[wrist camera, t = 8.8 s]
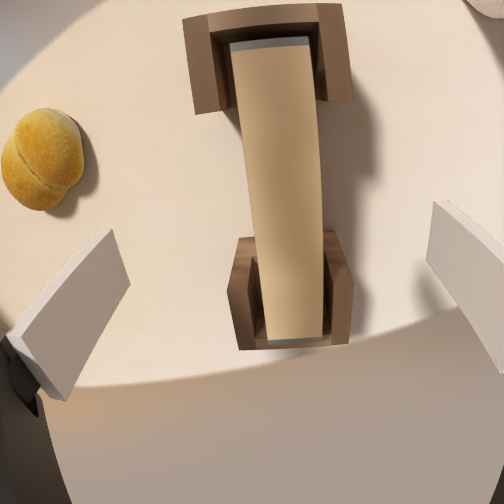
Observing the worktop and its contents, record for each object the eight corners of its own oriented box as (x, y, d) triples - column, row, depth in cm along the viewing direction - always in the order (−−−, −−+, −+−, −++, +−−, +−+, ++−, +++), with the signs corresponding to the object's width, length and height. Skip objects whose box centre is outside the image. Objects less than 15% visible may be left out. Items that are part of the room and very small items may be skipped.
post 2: (247, 290, 27) (239, 350, 21) (239, 238, 25) (226, 291, 18) (334, 284, 26) (348, 343, 20) (334, 231, 24) (353, 282, 18)
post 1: (320, 29, 17) (341, 3, 10) (328, 98, 19) (353, 101, 13) (210, 40, 17) (181, 19, 11) (219, 107, 20) (195, 114, 14)
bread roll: (105, 155, 22) (78, 169, 19) (50, 215, 25) (25, 234, 21) (54, 84, 19) (23, 88, 16) (6, 153, 22) (-22, 165, 18)
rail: (270, 291, 23) (268, 344, 18) (242, 57, 16) (229, 43, 11) (313, 288, 23) (322, 341, 18) (298, 52, 15) (308, 36, 10)
